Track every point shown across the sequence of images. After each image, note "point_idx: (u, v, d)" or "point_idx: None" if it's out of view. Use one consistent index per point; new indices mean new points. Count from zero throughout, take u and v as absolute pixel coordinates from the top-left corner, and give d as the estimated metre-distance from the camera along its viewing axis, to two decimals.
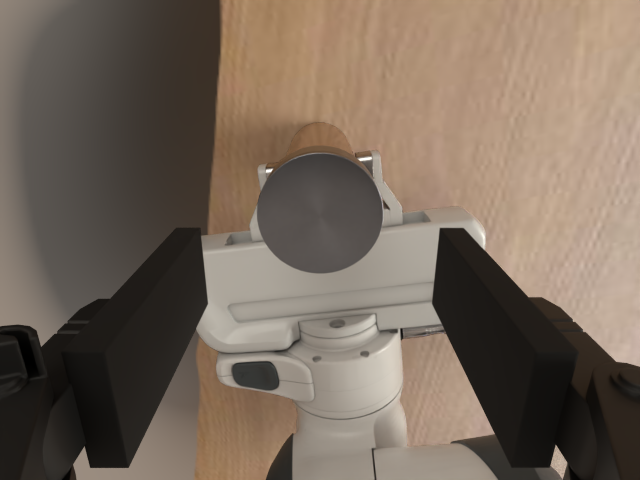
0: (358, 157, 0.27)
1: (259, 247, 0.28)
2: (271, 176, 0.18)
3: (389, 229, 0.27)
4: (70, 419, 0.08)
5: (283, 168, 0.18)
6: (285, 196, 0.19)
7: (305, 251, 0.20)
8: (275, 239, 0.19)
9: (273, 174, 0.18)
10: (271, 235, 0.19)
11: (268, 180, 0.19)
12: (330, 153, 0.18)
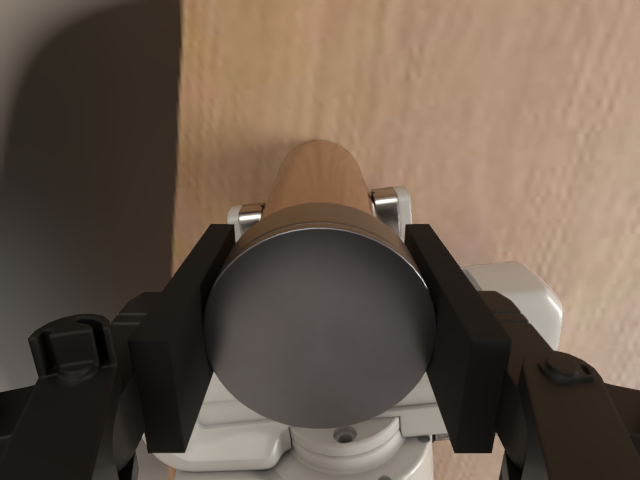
0: (377, 199, 0.18)
1: None
2: (226, 270, 0.10)
3: None
4: (134, 405, 0.08)
5: (249, 255, 0.10)
6: (254, 304, 0.10)
7: (293, 394, 0.11)
8: (238, 375, 0.11)
9: (230, 266, 0.10)
10: (230, 369, 0.11)
11: (221, 276, 0.10)
12: (339, 228, 0.09)
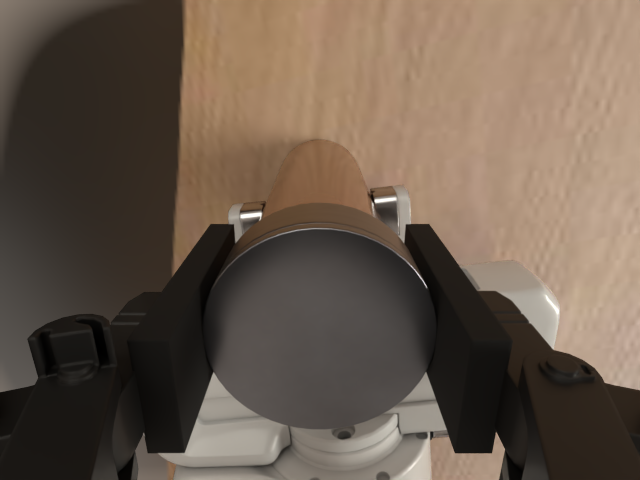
0: (376, 197, 0.18)
1: None
2: (325, 428, 0.11)
3: None
4: (134, 405, 0.08)
5: (302, 424, 0.11)
6: (335, 396, 0.11)
7: (391, 313, 0.10)
8: (409, 363, 0.11)
9: (321, 427, 0.11)
10: (407, 372, 0.11)
11: (334, 426, 0.11)
12: (229, 390, 0.11)
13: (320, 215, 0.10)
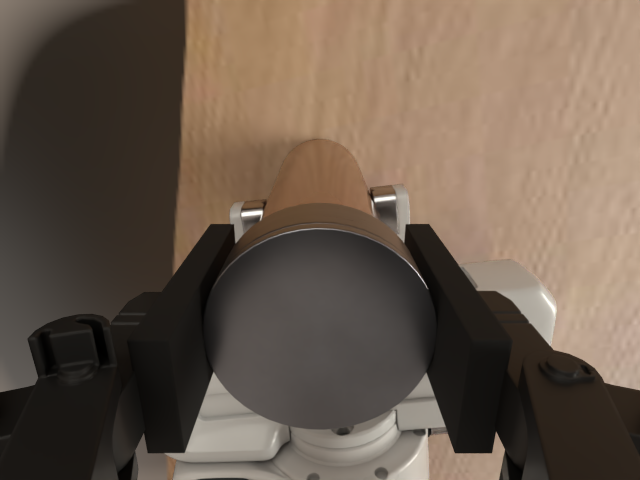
0: (376, 196, 0.18)
1: None
2: (404, 261, 0.10)
3: None
4: (134, 405, 0.08)
5: (417, 283, 0.10)
6: (362, 283, 0.10)
7: (249, 311, 0.10)
8: (274, 260, 0.10)
9: (407, 265, 0.10)
10: (283, 253, 0.09)
11: (396, 255, 0.10)
12: (431, 355, 0.11)
13: None
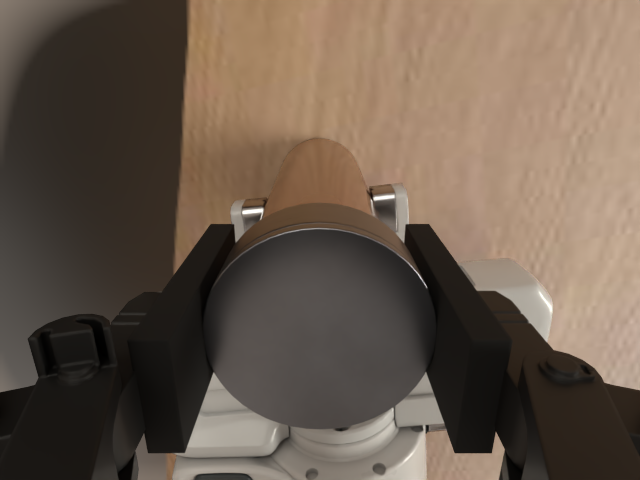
0: (375, 195, 0.18)
1: None
2: (204, 340, 0.10)
3: None
4: (134, 405, 0.08)
5: (209, 318, 0.10)
6: (247, 350, 0.10)
7: (344, 395, 0.11)
8: (289, 410, 0.11)
9: (204, 335, 0.10)
10: (279, 409, 0.11)
11: (206, 347, 0.10)
12: (251, 245, 0.10)
13: None
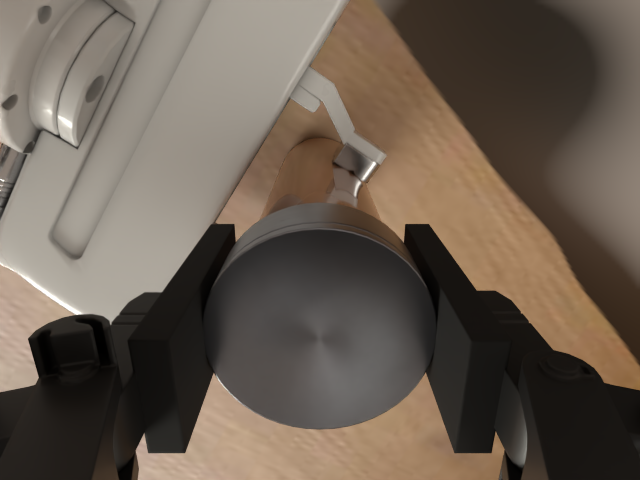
0: None
1: (295, 74, 0.16)
2: (204, 340, 0.10)
3: None
4: (134, 405, 0.08)
5: (209, 318, 0.10)
6: (247, 349, 0.10)
7: (343, 396, 0.11)
8: (288, 410, 0.11)
9: (204, 335, 0.10)
10: (278, 409, 0.11)
11: (206, 347, 0.10)
12: (251, 245, 0.10)
13: None
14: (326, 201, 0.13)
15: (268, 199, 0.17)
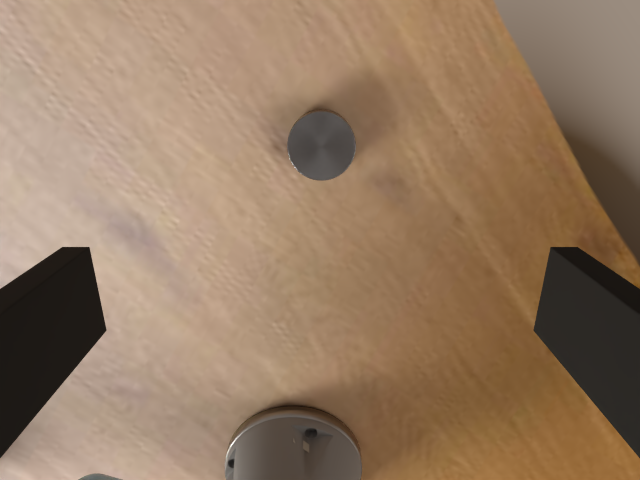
0: None
1: None
2: (288, 147, 0.35)
3: None
4: None
5: (289, 140, 0.35)
6: (300, 150, 0.36)
7: (328, 167, 0.36)
8: (312, 172, 0.36)
9: (288, 146, 0.35)
10: (309, 172, 0.36)
11: (288, 150, 0.36)
12: (302, 117, 0.35)
13: None
14: None
15: None
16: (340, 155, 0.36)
